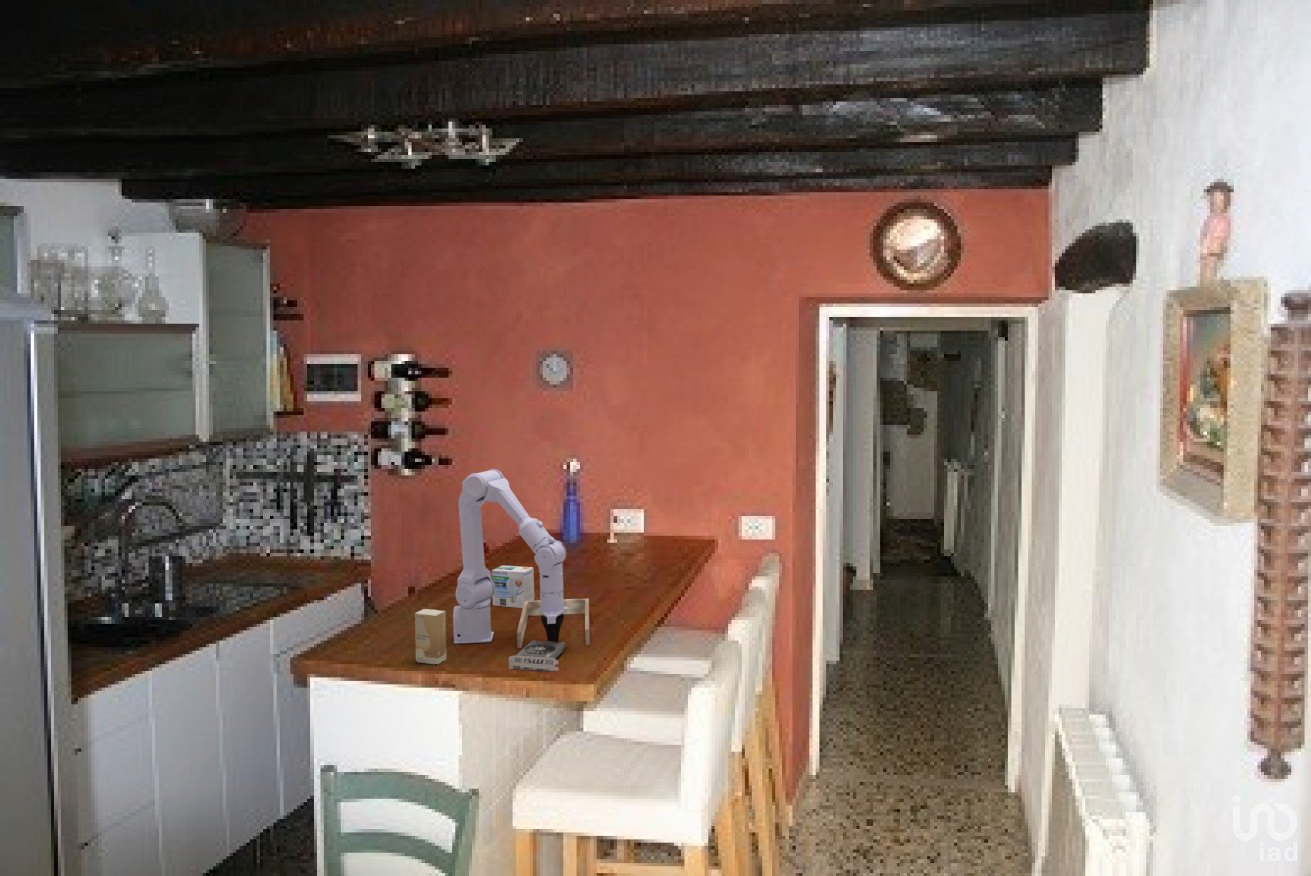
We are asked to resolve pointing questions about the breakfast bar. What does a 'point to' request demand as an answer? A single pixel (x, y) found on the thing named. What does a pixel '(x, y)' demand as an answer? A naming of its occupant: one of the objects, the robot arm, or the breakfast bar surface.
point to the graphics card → (537, 656)
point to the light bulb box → (513, 586)
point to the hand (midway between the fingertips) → (553, 644)
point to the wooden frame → (574, 608)
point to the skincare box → (430, 636)
